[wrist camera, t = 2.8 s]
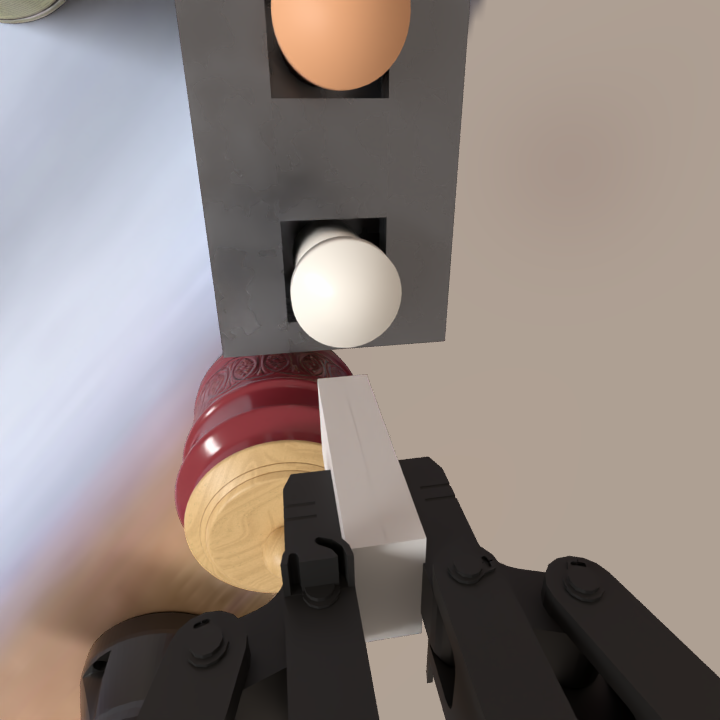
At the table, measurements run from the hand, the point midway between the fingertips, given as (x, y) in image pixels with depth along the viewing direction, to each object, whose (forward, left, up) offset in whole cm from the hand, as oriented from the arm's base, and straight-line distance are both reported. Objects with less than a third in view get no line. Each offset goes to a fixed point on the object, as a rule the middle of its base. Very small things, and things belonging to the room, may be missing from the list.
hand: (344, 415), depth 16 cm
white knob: (0, -2, -20) cm, 20 cm away
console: (+6, -2, -24) cm, 24 cm away
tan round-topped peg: (+12, -2, -20) cm, 23 cm away
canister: (-13, +2, -24) cm, 27 cm away
